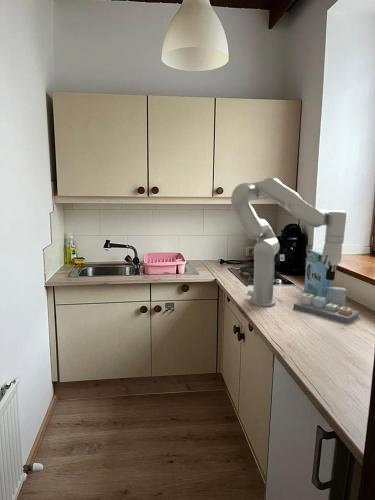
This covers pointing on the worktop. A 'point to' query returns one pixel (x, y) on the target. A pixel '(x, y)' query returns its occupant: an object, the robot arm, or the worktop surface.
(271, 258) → the robot arm
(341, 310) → the peach cube
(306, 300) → the key
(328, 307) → the key
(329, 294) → the medicine box
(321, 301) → the key
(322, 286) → the gum box
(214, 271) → the worktop surface
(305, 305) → the keypad board
